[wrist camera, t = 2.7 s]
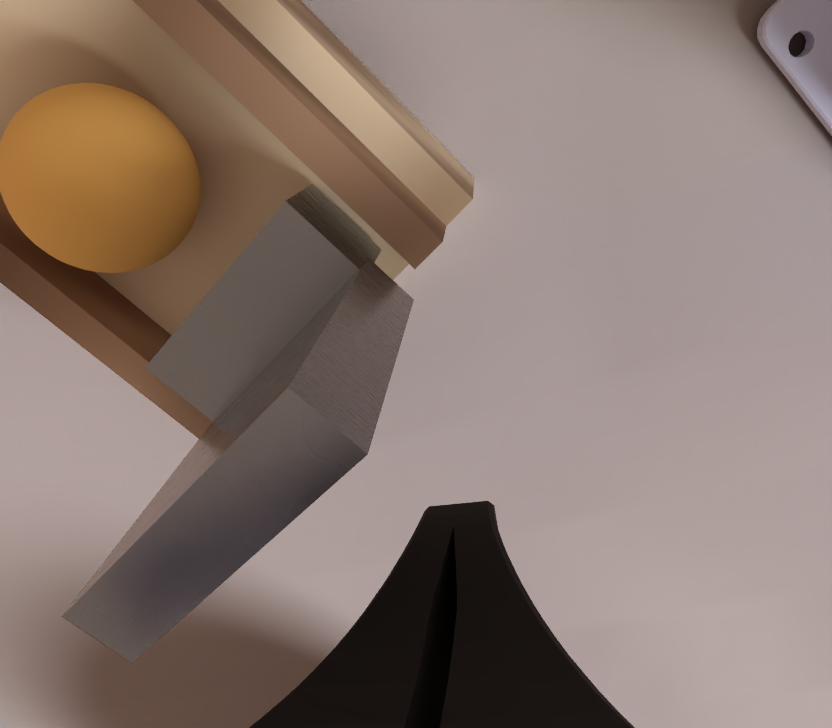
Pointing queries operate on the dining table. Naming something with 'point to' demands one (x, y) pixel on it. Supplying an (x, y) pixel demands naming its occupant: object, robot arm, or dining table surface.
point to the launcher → (220, 154)
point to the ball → (99, 177)
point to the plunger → (256, 415)
